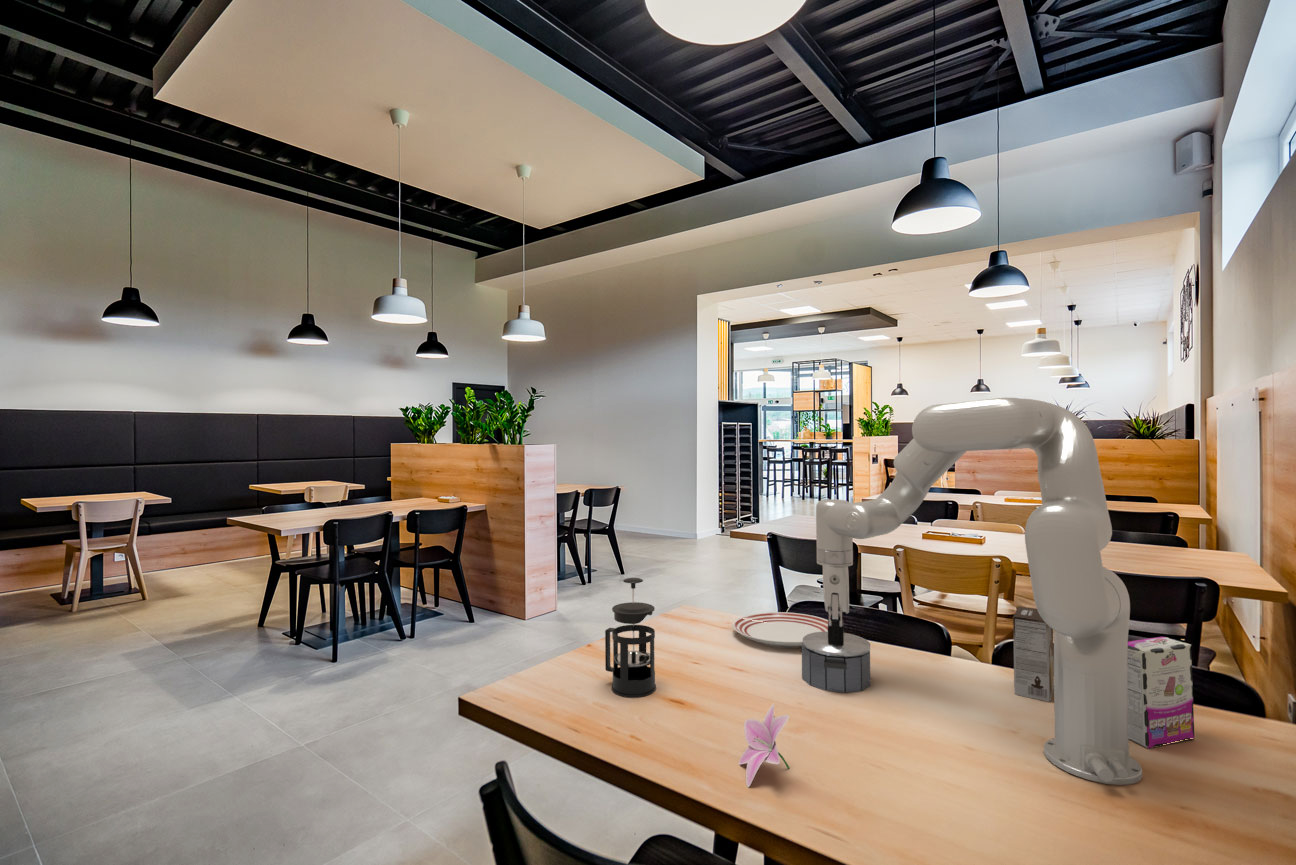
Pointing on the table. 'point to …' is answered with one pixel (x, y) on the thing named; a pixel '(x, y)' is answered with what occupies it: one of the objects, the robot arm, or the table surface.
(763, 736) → the lily
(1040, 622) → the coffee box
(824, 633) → the lid
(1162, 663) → the candy bar box
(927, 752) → the table surface
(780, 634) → the dinner plate
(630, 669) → the french press
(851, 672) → the pot
